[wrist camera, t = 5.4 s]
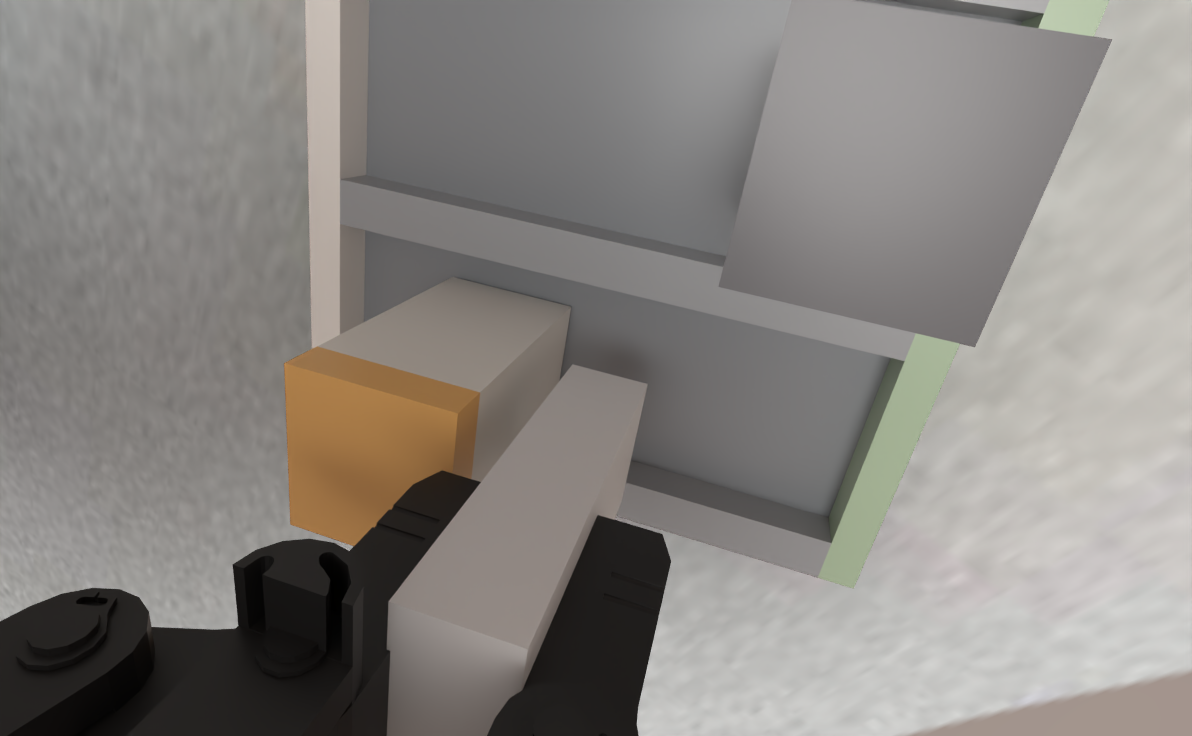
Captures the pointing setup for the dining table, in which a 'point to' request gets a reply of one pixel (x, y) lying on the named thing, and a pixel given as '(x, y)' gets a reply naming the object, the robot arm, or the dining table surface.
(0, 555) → the dining table surface
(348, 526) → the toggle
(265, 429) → the dining table surface
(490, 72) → the breaker board
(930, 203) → the toggle mid
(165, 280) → the dining table surface
